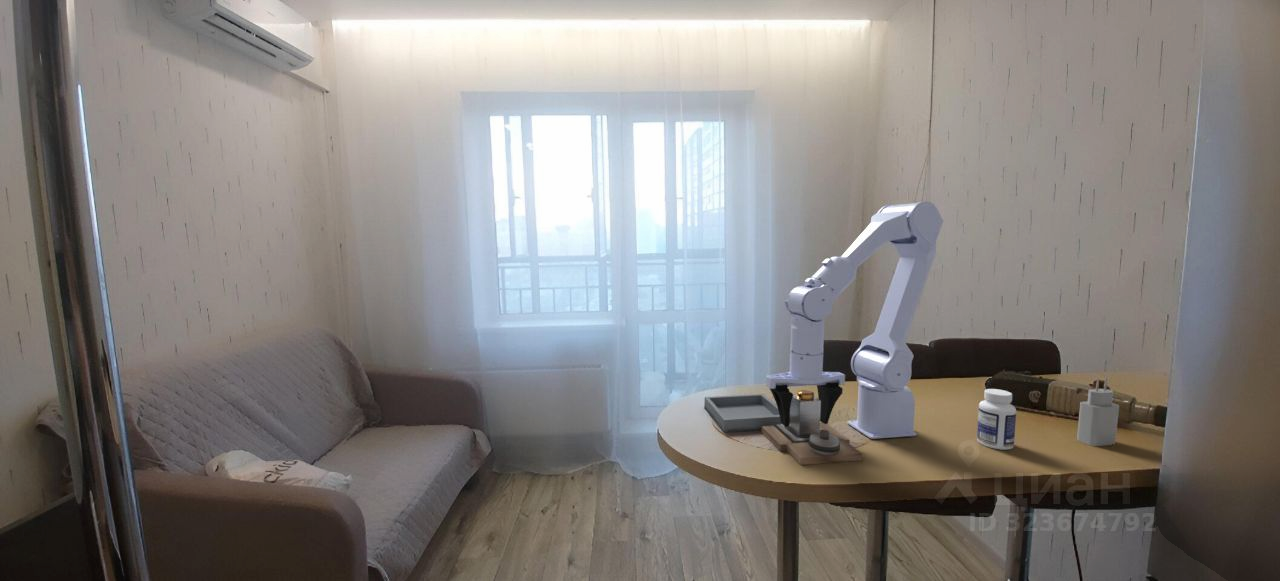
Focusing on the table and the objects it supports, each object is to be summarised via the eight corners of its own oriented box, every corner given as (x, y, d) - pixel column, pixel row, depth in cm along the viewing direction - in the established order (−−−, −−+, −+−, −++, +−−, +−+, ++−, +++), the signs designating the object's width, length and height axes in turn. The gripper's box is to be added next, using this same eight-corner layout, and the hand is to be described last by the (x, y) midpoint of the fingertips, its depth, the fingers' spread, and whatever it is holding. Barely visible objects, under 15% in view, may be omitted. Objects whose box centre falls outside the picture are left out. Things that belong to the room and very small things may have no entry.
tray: (762, 404, 106) (762, 393, 106) (790, 428, 93) (790, 415, 93) (704, 407, 104) (704, 397, 104) (723, 432, 91) (724, 420, 91)
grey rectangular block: (808, 434, 90) (810, 388, 89) (819, 442, 86) (821, 395, 85) (788, 435, 90) (790, 389, 89) (798, 444, 86) (800, 396, 85)
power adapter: (1117, 443, 85) (1124, 379, 84) (1093, 446, 84) (1100, 381, 83) (1097, 436, 88) (1104, 374, 87) (1074, 439, 87) (1080, 376, 86)
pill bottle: (1006, 440, 87) (1010, 388, 86) (1018, 452, 82) (1023, 398, 81) (972, 436, 89) (975, 386, 88) (982, 448, 84) (986, 395, 83)
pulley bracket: (824, 427, 93) (825, 406, 93) (868, 459, 79) (869, 434, 79) (761, 432, 91) (761, 410, 91) (794, 465, 78) (795, 440, 77)
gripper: (831, 345, 91) (828, 413, 93) (760, 348, 89) (758, 417, 90) (852, 354, 84) (849, 427, 86) (776, 357, 82) (774, 432, 84)
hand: (804, 423), depth 88 cm, fingers open, 7 cm apart
